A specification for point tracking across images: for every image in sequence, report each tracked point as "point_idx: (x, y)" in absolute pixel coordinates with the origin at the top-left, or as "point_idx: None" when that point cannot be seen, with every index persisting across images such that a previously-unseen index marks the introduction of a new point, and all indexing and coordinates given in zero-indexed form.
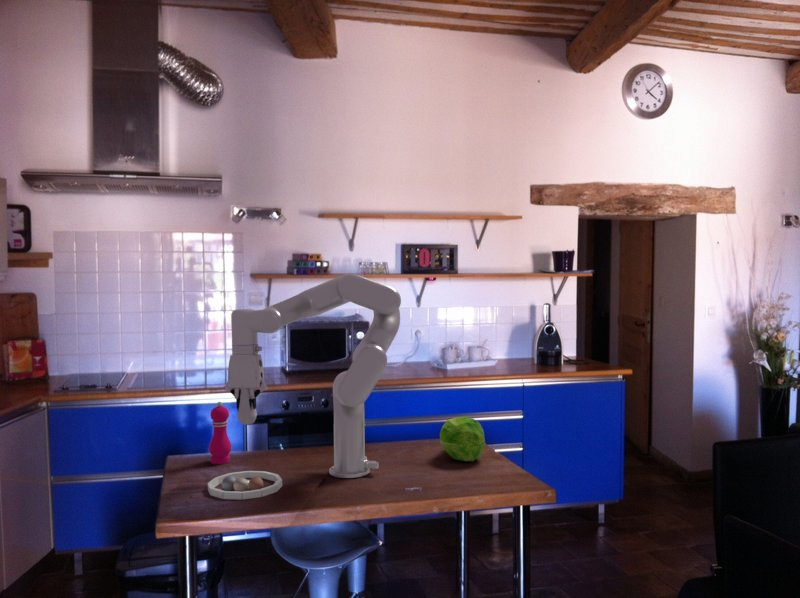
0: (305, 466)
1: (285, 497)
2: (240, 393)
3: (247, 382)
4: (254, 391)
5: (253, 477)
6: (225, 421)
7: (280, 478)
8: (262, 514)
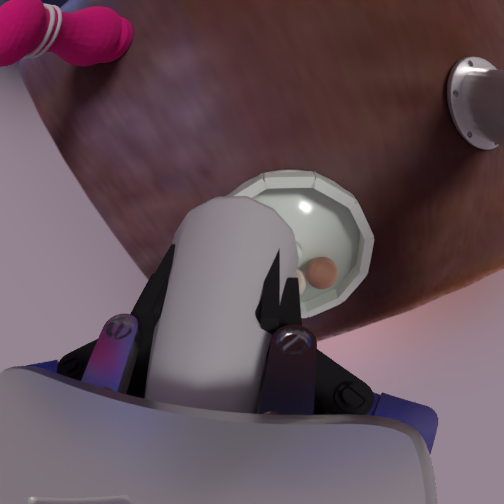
0: (376, 33)
1: (378, 265)
2: (129, 356)
3: None
4: (286, 392)
5: (318, 283)
6: (47, 22)
7: (369, 231)
8: (350, 330)
